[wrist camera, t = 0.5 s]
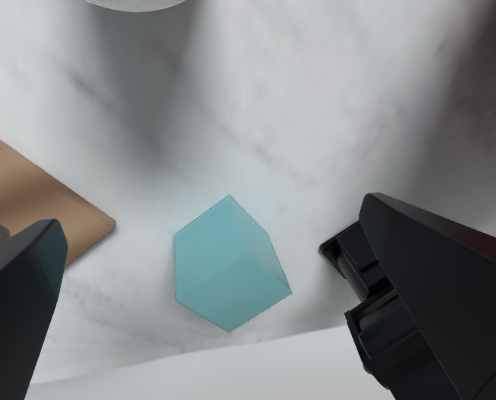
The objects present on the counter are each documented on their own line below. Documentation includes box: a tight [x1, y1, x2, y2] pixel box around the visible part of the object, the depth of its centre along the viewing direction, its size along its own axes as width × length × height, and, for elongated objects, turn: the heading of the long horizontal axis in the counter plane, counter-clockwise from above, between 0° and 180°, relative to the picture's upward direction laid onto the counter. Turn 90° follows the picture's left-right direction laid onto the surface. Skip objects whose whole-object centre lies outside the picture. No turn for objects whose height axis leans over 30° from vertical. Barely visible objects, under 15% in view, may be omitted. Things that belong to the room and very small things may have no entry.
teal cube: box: [174, 194, 292, 332], centre depth 23 cm, size 6×6×7 cm
